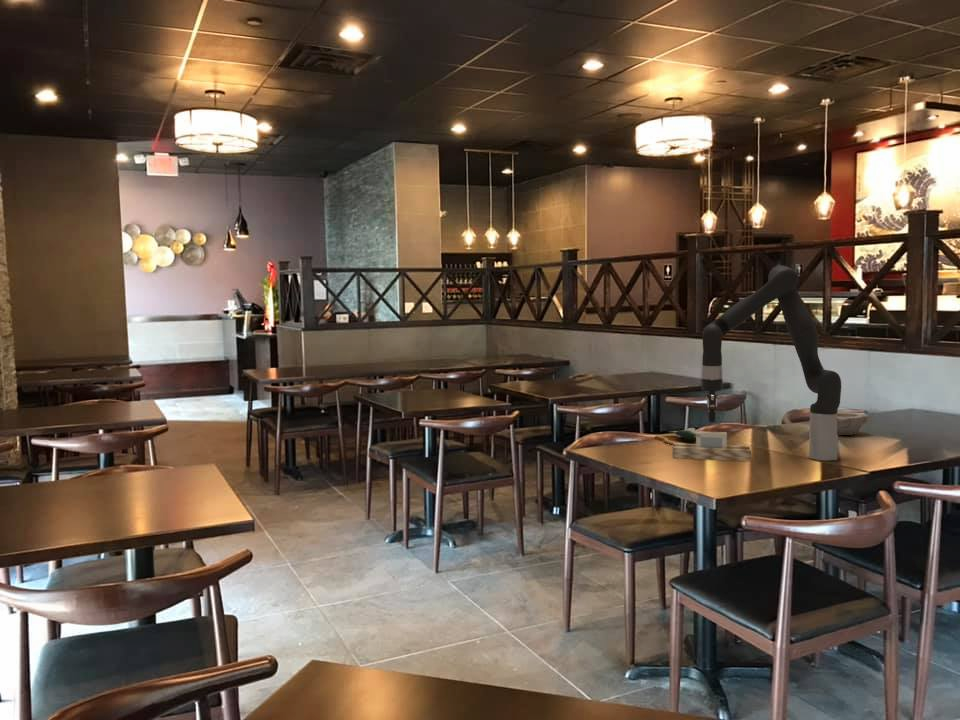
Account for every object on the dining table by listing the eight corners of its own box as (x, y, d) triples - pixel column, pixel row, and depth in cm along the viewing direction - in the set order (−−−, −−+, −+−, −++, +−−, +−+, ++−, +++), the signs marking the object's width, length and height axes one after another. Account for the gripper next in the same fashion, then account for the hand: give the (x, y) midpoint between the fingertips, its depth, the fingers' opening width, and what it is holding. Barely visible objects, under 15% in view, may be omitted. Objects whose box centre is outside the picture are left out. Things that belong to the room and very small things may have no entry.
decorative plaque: (732, 431, 300) (689, 434, 293) (732, 449, 300) (689, 453, 294) (688, 420, 329) (648, 423, 322) (687, 436, 329) (648, 439, 323)
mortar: (813, 432, 334) (813, 412, 334) (842, 430, 340) (843, 410, 339) (842, 439, 318) (842, 417, 318) (873, 436, 324) (873, 415, 323)
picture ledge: (749, 456, 284) (749, 446, 284) (751, 461, 275) (751, 450, 275) (673, 453, 292) (673, 443, 292) (672, 458, 283) (672, 447, 282)
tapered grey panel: (726, 453, 284) (726, 432, 283) (726, 454, 281) (726, 433, 280) (696, 451, 286) (696, 431, 286) (696, 453, 284) (696, 432, 283)
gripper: (701, 375, 289) (701, 416, 291) (701, 379, 276) (701, 422, 277) (721, 375, 287) (721, 417, 289) (723, 379, 274) (723, 423, 275)
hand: (711, 420), depth 283 cm, fingers open, 8 cm apart
